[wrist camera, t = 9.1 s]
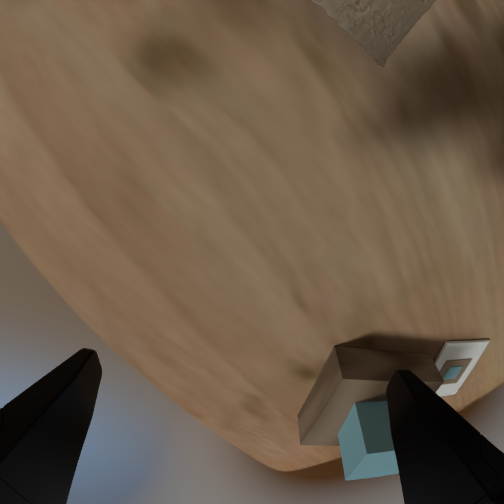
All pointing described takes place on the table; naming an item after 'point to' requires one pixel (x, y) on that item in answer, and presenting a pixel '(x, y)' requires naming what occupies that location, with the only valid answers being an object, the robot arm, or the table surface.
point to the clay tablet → (376, 21)
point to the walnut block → (355, 388)
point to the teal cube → (367, 442)
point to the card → (457, 363)
